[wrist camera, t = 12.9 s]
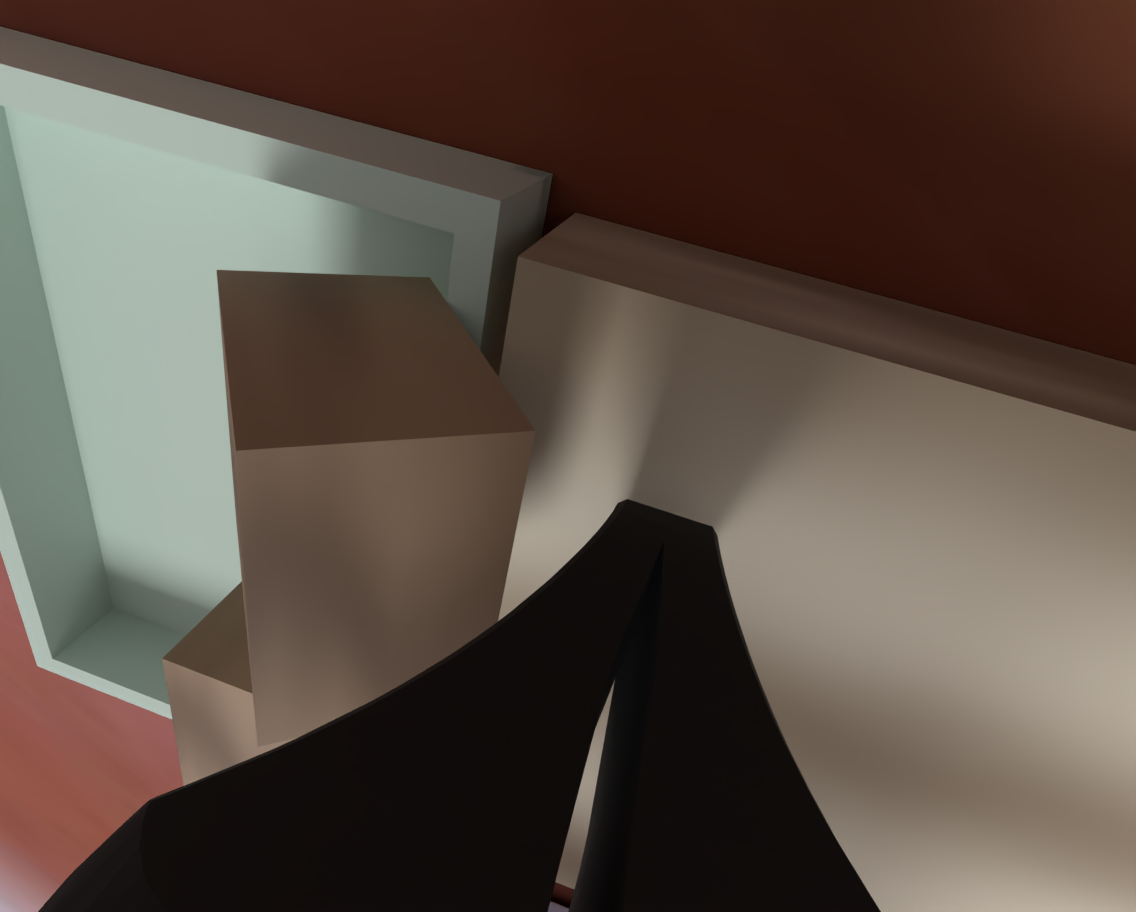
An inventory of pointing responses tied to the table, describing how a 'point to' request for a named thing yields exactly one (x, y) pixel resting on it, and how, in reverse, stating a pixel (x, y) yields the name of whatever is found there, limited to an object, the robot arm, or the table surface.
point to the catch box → (183, 320)
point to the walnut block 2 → (362, 486)
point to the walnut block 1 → (213, 693)
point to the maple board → (864, 547)
